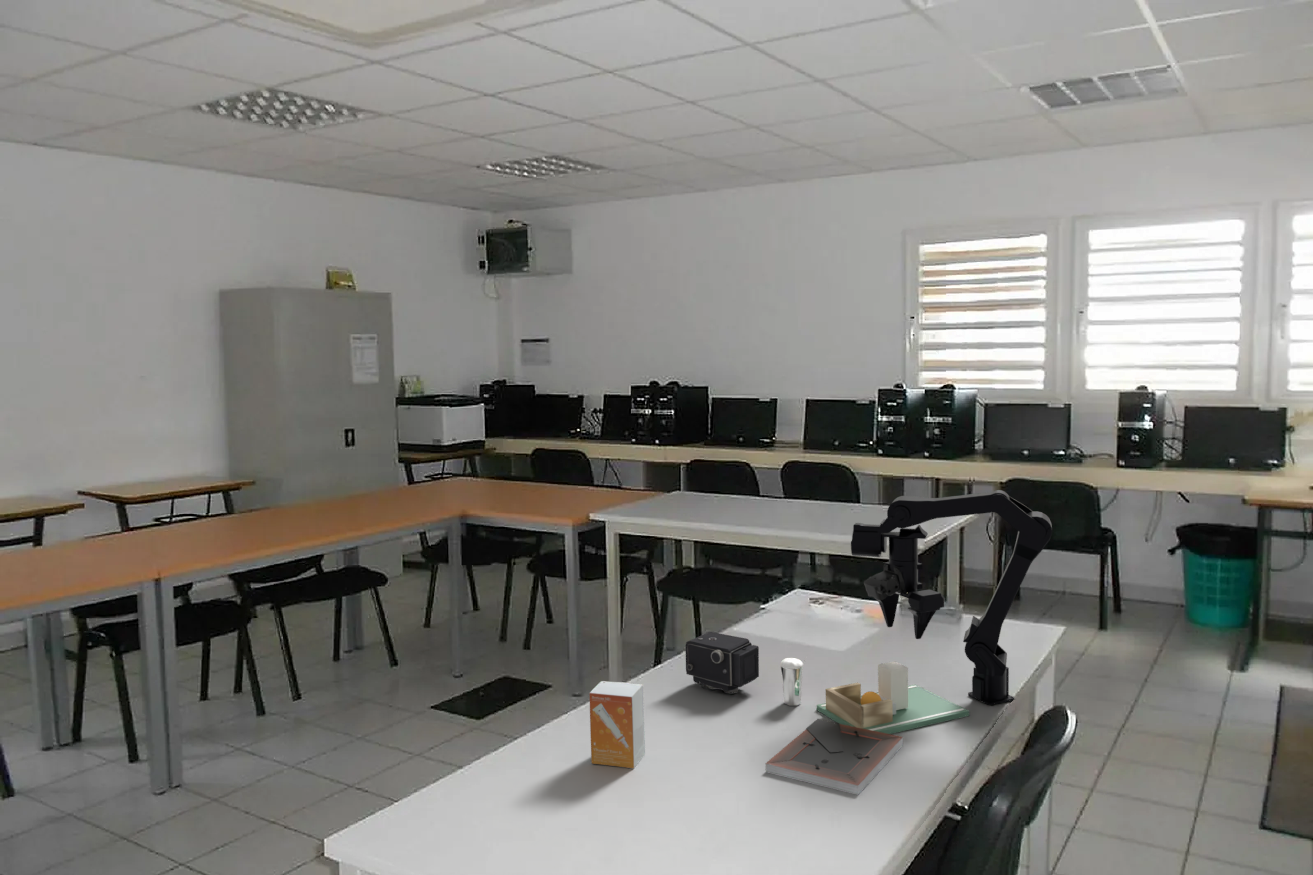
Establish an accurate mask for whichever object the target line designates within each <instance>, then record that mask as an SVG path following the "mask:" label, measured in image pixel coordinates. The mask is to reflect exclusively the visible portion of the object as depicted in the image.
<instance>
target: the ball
mask: <svg viewBox="0 0 1313 875" xmlns="http://www.w3.org/2000/svg"><path fill="white" fill-rule="evenodd" d="M862 695H863V696H862ZM862 695H861V696H862V697H861V705H864V704H868V703H873V702H878V701H882V700H881V698H880V696H879V695H878V694H877V692H875V691H872V690H871V691H866V692H864V693H863V694H862Z"/></svg>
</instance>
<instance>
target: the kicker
mask: <svg viewBox="0 0 1313 875" xmlns="http://www.w3.org/2000/svg"><path fill="white" fill-rule="evenodd" d="M877 671H878V672H877V676H878V679H877V682H878V683H877V684H878V687H877V690H878V695H879V696H880V698H881V700H887V699H890V700H892V704H893V715H894V714H896V710H900V709H904V708H908V686H909V667H908V666H906V665H904V664H902V663H900V662H897V661H891V662H890V661H889V662H885V663H880V664H877Z"/></svg>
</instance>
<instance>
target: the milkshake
mask: <svg viewBox="0 0 1313 875" xmlns="http://www.w3.org/2000/svg"><path fill="white" fill-rule="evenodd" d="M807 656H808V655H806V656H805V658H804V659H805V660H804V661H801V660H800V659H799V658H796V657H795V658H794V657H786V658H783V659H782V661H780V673H781V681H782V682H781V683H782V693H783V694H782V695H783V703H784V704H785V705H786V706H789V707H797V706H799V705H801V704H802V689H803V688H802V687H803V685H802V684H803V672H804V671H803V669H804V664H805V662H806V659H807Z"/></svg>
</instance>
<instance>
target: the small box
mask: <svg viewBox="0 0 1313 875" xmlns="http://www.w3.org/2000/svg"><path fill="white" fill-rule="evenodd" d="M588 695H589V723H590V724H589V725H590V726H589V727H590V728H589V729H590V761H591V764H592V765H593V764H594V765H602V766H603V765H604V766H613V767H620V768H628V769H632V770H634V769H635V768H636V767H637V765H639V762H640V761H641V760H642V759H643V757H644V756H645V754H646V743H645V742H646V740H645V739H646V738H645V732H646V731H645V711H644V710H645V705H644V704H645V703H644V701H645V700H644V698H645V697H644V684H642V683H640V684H639V683H628V682H622V681H605V680H601V681H600V682H598V684H597V685H596V686H594V688H592V690H591V691H590V692H589V694H588Z"/></svg>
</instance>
